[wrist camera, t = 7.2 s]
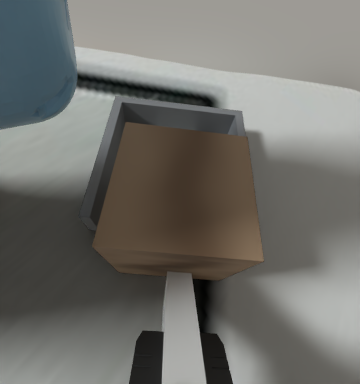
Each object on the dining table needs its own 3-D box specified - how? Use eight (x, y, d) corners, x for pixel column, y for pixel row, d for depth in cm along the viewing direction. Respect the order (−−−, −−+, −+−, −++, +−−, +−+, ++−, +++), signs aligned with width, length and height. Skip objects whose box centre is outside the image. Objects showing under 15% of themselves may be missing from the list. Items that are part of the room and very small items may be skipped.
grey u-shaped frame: (89, 229, 18) (78, 216, 15) (119, 118, 24) (115, 96, 22) (244, 241, 19) (259, 231, 16) (233, 131, 25) (241, 111, 23)
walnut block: (119, 272, 16) (91, 246, 9) (136, 185, 20) (125, 121, 13) (219, 280, 17) (263, 261, 10) (216, 194, 21) (247, 136, 14)
